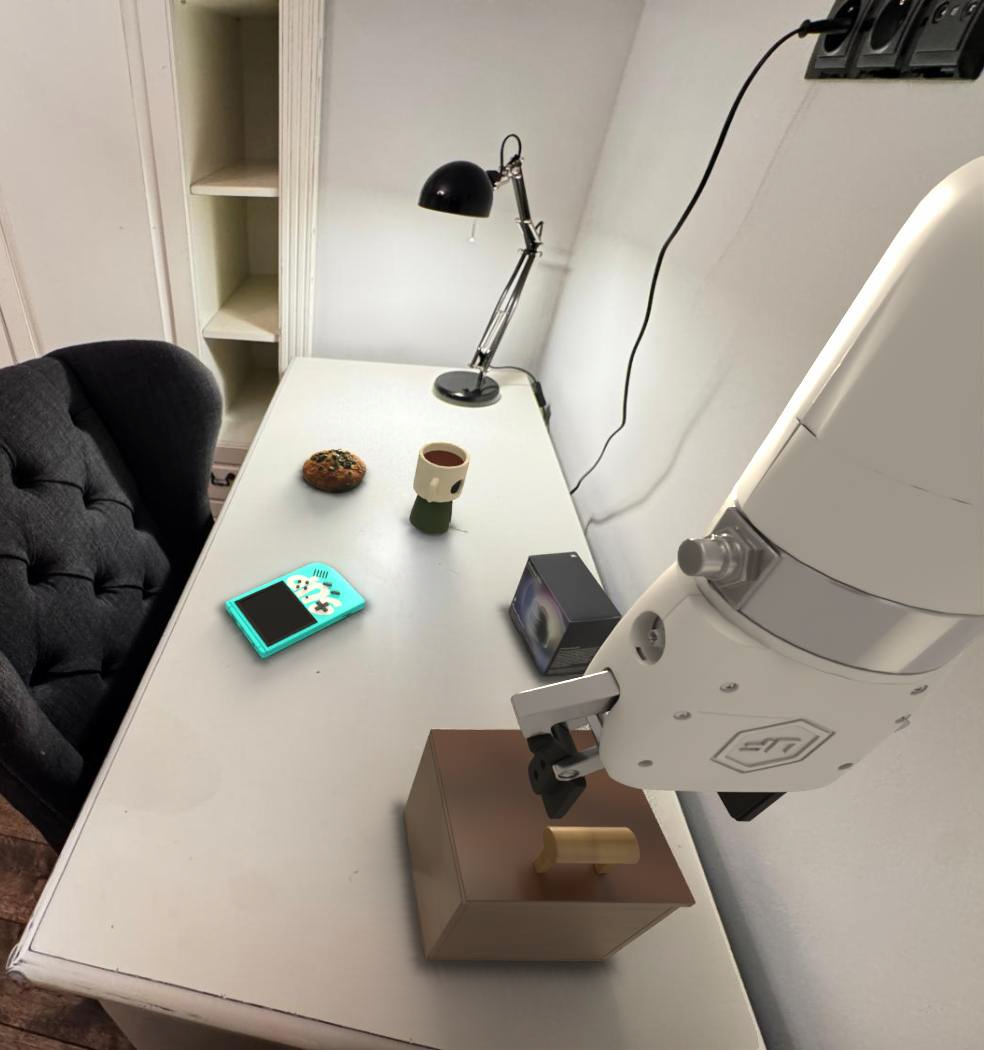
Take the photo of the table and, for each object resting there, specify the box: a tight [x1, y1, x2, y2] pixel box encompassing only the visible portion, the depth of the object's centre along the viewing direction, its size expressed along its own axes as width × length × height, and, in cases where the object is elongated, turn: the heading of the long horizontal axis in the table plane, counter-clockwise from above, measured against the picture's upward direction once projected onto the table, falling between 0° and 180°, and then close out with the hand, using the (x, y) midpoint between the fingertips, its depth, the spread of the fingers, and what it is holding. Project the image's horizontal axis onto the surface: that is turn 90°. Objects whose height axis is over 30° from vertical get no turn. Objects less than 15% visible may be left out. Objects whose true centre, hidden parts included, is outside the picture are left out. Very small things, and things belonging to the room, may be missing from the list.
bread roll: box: [301, 448, 368, 494], centre depth 97 cm, size 11×11×5 cm
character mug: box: [408, 440, 471, 536], centre depth 84 cm, size 11×7×13 cm, turn 154°
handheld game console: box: [225, 562, 366, 659], centre depth 75 cm, size 10×16×1 cm, turn 122°
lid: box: [428, 728, 697, 908], centre depth 39 cm, size 12×15×6 cm
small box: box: [507, 550, 623, 678], centre depth 68 cm, size 11×6×10 cm, turn 6°
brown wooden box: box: [402, 734, 681, 962], centre depth 46 cm, size 12×15×15 cm
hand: (633, 792), depth 31 cm, fingers open, 9 cm apart
